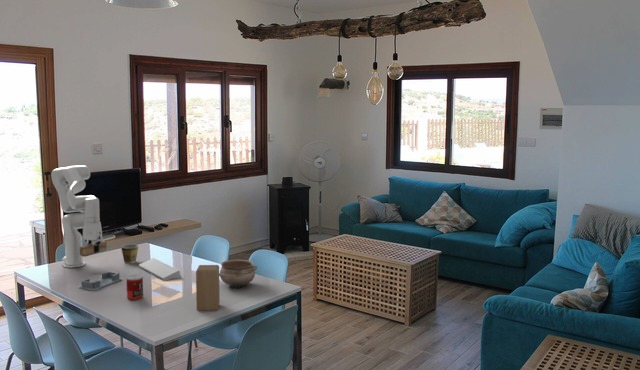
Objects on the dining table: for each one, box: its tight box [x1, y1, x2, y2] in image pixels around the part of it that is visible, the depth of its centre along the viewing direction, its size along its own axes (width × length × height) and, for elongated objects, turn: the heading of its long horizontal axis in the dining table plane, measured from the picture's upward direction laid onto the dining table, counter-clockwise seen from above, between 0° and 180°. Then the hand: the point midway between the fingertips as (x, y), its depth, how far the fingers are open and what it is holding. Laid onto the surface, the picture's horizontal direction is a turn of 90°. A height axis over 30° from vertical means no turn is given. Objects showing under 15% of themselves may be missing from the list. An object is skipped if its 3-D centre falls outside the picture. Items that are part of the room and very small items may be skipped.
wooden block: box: [195, 264, 220, 312], centre depth 268 cm, size 10×10×20 cm
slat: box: [80, 240, 108, 257], centre depth 314 cm, size 4×16×5 cm, turn 158°
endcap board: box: [78, 271, 123, 291], centre depth 303 cm, size 10×21×4 cm, turn 158°
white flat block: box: [138, 257, 182, 281], centre depth 326 cm, size 34×5×10 cm
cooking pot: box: [219, 258, 258, 288], centre depth 303 cm, size 25×19×12 cm
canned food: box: [126, 274, 144, 301], centre depth 281 cm, size 8×8×11 cm
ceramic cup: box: [120, 244, 139, 264], centre depth 347 cm, size 13×10×10 cm
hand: (93, 251), depth 315 cm, fingers closed on slat, 4 cm apart
